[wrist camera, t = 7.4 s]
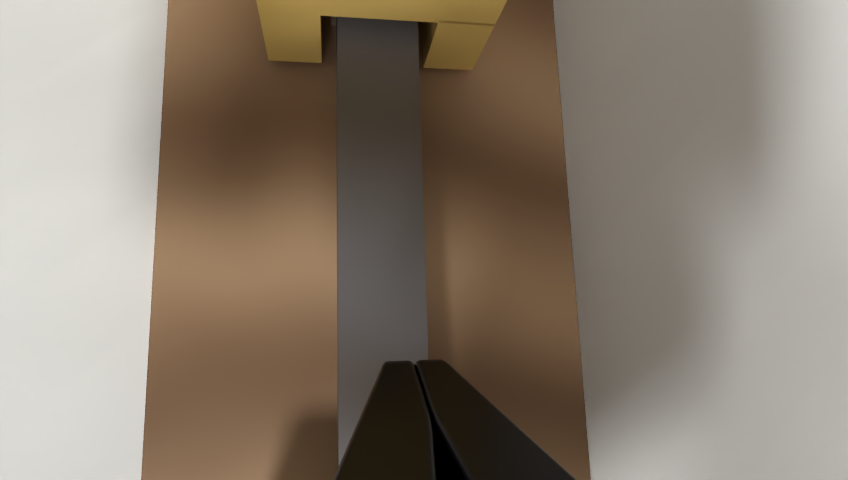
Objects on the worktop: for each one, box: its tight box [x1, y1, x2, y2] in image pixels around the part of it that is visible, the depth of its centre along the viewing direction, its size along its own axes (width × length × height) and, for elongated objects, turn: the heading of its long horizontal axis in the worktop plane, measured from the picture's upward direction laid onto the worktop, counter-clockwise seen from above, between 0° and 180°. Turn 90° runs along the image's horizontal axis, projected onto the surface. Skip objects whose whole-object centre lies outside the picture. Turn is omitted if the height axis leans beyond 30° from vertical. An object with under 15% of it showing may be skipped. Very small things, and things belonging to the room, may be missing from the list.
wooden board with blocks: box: [141, 0, 591, 480], centre depth 14 cm, size 23×11×7 cm, turn 1°
